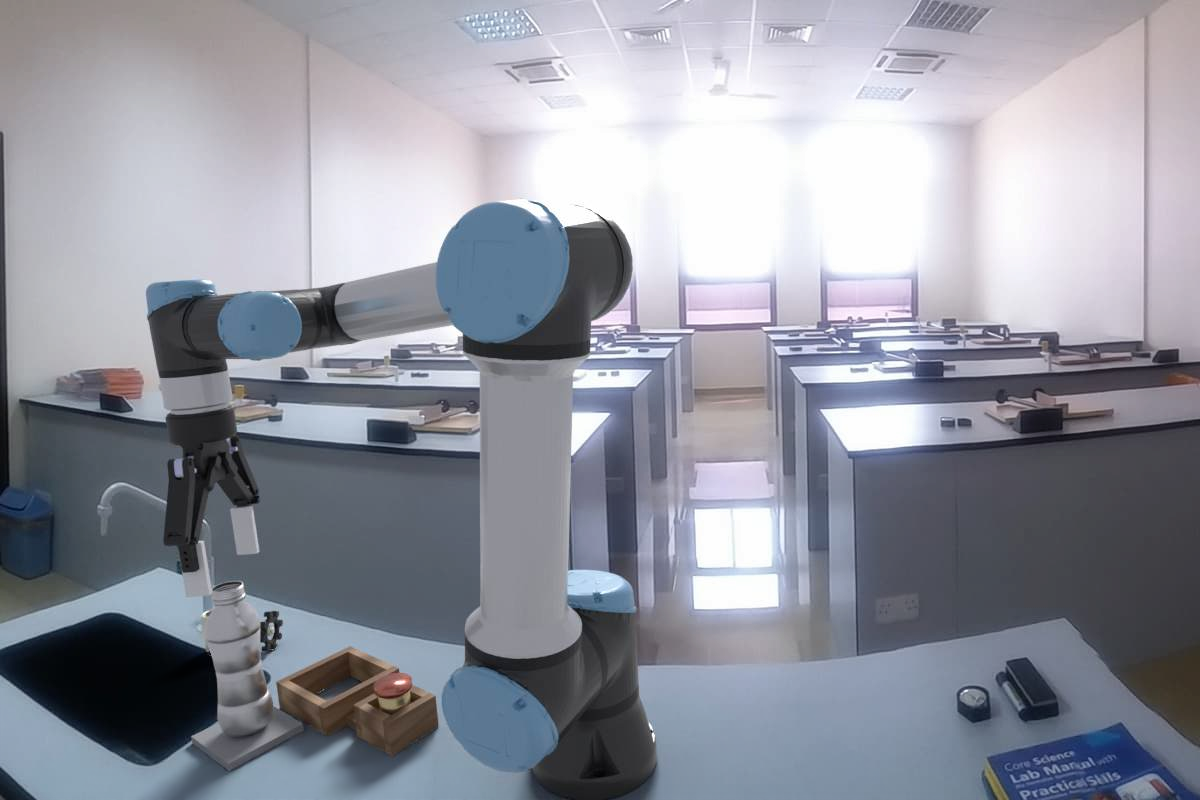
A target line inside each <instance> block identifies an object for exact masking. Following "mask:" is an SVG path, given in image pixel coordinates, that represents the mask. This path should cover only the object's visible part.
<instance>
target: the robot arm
mask: <svg viewBox="0 0 1200 800" xmlns="http://www.w3.org/2000/svg"><path fill="white" fill-rule="evenodd" d="M632 253H633V252H632V248H631V245H630V243H629V241H628V239H627V237H626V234H625V232H624V231H623V230H622V229H621V227H620V226H619V225H618V224H617V223H616V222H615V221H614V220H613V219H612V218H611V217H609V216H608V215H606V214H604V213H603V212H602V211H599V210H597V209H595V208H592V207H590V206H584V205H579V204H578V205H577V204H562V203H556V202H555V203H554V202H547V201H546V202H545V201H540V200H539V201H538V200H533V199H532V200H531V199H525V198H524V199H523V198H519V199H513V200H512V199H510V200H495V201H490V202H485V203H483V204H480V205H478V206H475V207H473V208H472V209H470V210H468V211H467V212H466V213H464V214H463V215H462V216H461V217H460V218H459V219H458V221H457V222H456V223H455V224H454V225H453V226H452V227H451V228H450V229H449V231H448V232H447V234H446V236H445V238H444V240H443V242H442V244H441V247H440V249H439V253H438V257H437V261H436V262H435V261H434V262H430V263H427V264H422V265H418V266H413V267H409V268H405V269H399V270H395V271H390V272H386V273H382V274H378V275H373V276H368V277H364V278H359V279H355V280H351V281H347V282H340V283H337V284H332V285H327V286H322V287H314V288H303V289H285V290H284V289H283V290H270V291H266V290H256V291H251V290H248V291H243V292H239V293H228V294H219V295H218V292H217V289H216V286H215V284H214V282H213V281H211V280H210V279H184V280H172V281H156V282H152V283H150V284H149V285H148V286H147V287H146V290H145V298H146V306H147V307H146V308H147V314H146V319H147V321H148V325H149V331H150V332H149V333H150V337H151V344H152V347H153V348H152V349H153V354H154V358H155V363H156V368H157V369H156V370H157V374H158V378H159V385H158V389H159V391H160V393H161V397H162V402H163V408H164V409H165V410H166V411H170V412H169V413H167V414H166V416H165V418H164V419H165V424H166V430H167V435H168V441H169V442H170V444H172V445H175V446H180V448H182V457H181V458H171V459H170V458H169V459H168V461H167V462H166V463H167V474H168V485H167V497H166V508H165V518H164V529H163V545H164V546H165V547H177V550H178V555H179V562H180V568H181V572H182V574H181V575H182V580H183V584H184V591H185V597H186V598H193V597H194V598H197V597H207V596H212V588H213V586H212V583H211V576H210V569H209V565H208V564H209V562H208V557H207V552H206V544H205V540H200V538H201V537H200V536H201V532H202V529H203V528H202V526H203V523H204V522H203V521H204V517H205V512H206V506H207V503H208V497H209V494H210V492H212V491H213V489H214V488H215V484H217V485H218V487H220V489H221V490H222V491H223V493H224V494H225V495H226V497H227V498H228V499H229V501H230V502H231V504H233V506H232V507H231V508H229V511H230V518H231V524H232V530H233V531H232V532H233V537H234V543H235V544H234V545H235V550H236V555H237V556H242V555H243V556H244V555H258V554H259V552H260V546H259V539H258V533H257V532H258V530H257V525H256V520H255V513H254V507H253V505H257V504H260V502H261V497H260V495H259V494H260V489H259V487H258V485H257V481H256V479H255V477H254V474H253V472H252V470H251V467H250V466H249V463H248V461H247V458H246V455H245V453H244V451H243V448H242V442H241V438H240V436H239V435H238V434H237V433H238V426H237V421H236V415H235V408H234V407H232V406H231V405H229V403H231V402H232V401H233V400H234V397H233V392H232V386H231V381H230V374H229V373H230V372H229V368H228V362H227V360H250V361H254V362H257V361H258V362H260V361H262V360H271V359H278V358H282V357H284V356H286V355H288V354H289V353H296V352H302V351H307V350H311V349H312V350H313V349H315V350H316V349H320V348H329V347H334V346H335V347H336V346H345V345H346V346H347V345H352V344H356V343H359V342H361V341H368V340H374V339H379V338H386V337H391V336H397V335H403V334H410V333H413V332H421V331H426V330H432V329H434V330H435V329H438V328H446V327H450V326H453V327H454V328H455V329H457V330H458V331H459V332H460V333H462V355H464V356H465V357H466V358H467V359H468V360H469V362H471V364H473V365H474V366H475V367H476V369H477V370H478V372H479V511H480V512H479V519H480V520H479V528H480V529H479V533H480V534H479V539H480V541H479V547H480V549H479V555H480V556H479V557H480V558H479V559H480V561H479V562H480V563H479V565H480V568H479V569H480V570H479V571H480V575H479V577H480V578H479V579H480V586H479V587H480V589H479V591H480V594H479V595H480V596H479V597H480V606H479V607H477V608H476V609H475V610H474V611H472V613H470V614H469V616H468V617H467V619H466V621H465V625H464V662H463V665H462V666H461V667H458V668H456V669H455V670H454V671H453V672H452V673H451V674H450V676H449V678H448V680H447V681H446V682H445V684H444V686H443V689H442V693H441V707H442V713H443V717H444V719H445V722H446V724H447V726H448V728H449V730H450V732H451V734H452V736H453V737H454V738H455V740H456V741H457V742H459V743H460V745H461V746H462V748H463V749H464V751H465V752H467V753H468V754H469V755H470V756H471V757H473V758H474V759H475V760H476V761H477V762H479V763H481V764H482V765H484V766H486V767H488V768H491V769H493V770H495V771H498V772H503V773H507V774H508V773H509V774H512V773H513V774H515V773H522V772H523V773H524V772H526V771H528V770H531V769H532V773H533V776H534V777H535V778H536V781H537V782H539V784H540V785H541V786H542V787H544V788H545V789H546V790H548V791H550V792H552V793H553V794H555V795H557V796H561V797H563V798H568V799H572V800H607V799H612V798H615V797H618V796H621V795H624V794H627V793H629V792H630V791H633V790H635V789H636V788H638V787H639V786H641V785H642V784H643V783H645V781H647V780H648V778H649V777H650V776H651V775H652V773H653V772H654V770H655V767H656V765H657V761H658V754H657V751H658V749H657V737H656V734H655V731H654V729H653V726H652V724H651V723H650V722H649V720H648V717H647V713H646V711H645V707H644V705H643V702H642V699H641V697H640V690H639V689H640V686H639V664H638V663H639V661H638V642H637V641H638V640H637V638H638V637H637V620H636V618H637V617H636V615H637V614H636V613H637V607H636V605H635V595H634V590H633V587H632V585H631V584H630V582H628V580H626V579H625V578H624V577H623V576H621V575H618V574H616V573H612V572H608V571H603V570H594V569H570V570H569V555H570V554H569V552H570V551H569V549H570V547H569V546H570V545H569V543H570V511H571V510H570V509H571V508H570V507H571V471H572V468H571V467H572V438H573V437H572V436H573V435H572V432H573V430H572V429H573V398H574V397H573V393H574V391H573V389H574V388H573V386H574V373H575V371H576V370H577V369H578V368H579V367H580V366H581V365H582V364H583V363H585V361H586V360H588V359H589V357H590V355H591V337H592V336H591V335H592V334H591V333H592V322H593V321H596V320H599V319H601V318H602V317H605V316H607V315H608V314H609V313H610V312H611V311H612V310H613V309H614V308H616V307H617V306H618V305H619V304H620V303H621V301H622V300H623V299H624V297H625V295H626V293H627V292H628V289H629V288H630V284H631V281H632V277H633V271H634V269H633V267H634V266H633V263H634V262H633V254H632ZM236 434H237V435H236Z"/></svg>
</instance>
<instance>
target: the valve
mask: <svg viewBox="0 0 1200 800" xmlns="http://www.w3.org/2000/svg"><path fill="white" fill-rule="evenodd" d="M213 609H214V608H211V609H209V610H208V609H207V610H205V611H204V612H202V613H201V614H200V621H201V629H200V638H201V640H202V641H203V643H204V644H205V645H204V646H205V652H209V651H210V650H209V647H208V644H207V641H206V639H205V635H204V628H205V623H206V621H207V619H208V617H209V615H210V614H211V612H212V611H213ZM263 617H264V618H266V619H265V620H264V621H260V644H262V643H263V644H264V646H263V645H262V646H261V647H260V650H261V651H262V652H270V651H271V650H270V649H275V648H276V647H277V648H278V644H277V641H280V640H282V638H283V633H282V632H280V627H283V625H284V622H283V619H278V618H279V617H280V611H279V610H271V611H265V612H264V613H263ZM271 623H273V625H270V624H271ZM269 637H272V638H271V639H269ZM277 648H276V649H277ZM276 649H275V650H276Z"/></svg>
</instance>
